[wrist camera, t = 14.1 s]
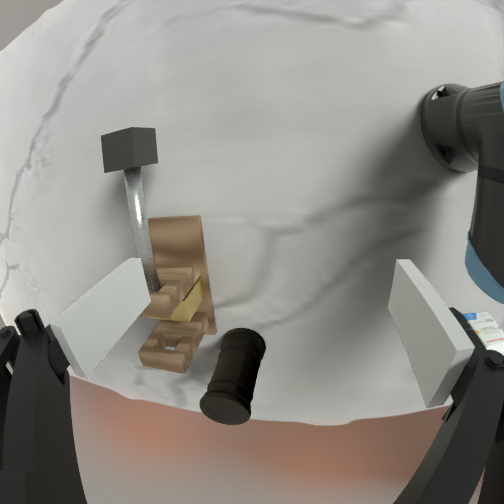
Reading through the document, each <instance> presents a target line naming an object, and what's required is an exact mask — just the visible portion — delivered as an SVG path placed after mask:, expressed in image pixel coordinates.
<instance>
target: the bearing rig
mask: <svg viewBox="0 0 504 504" xmlns="http://www.w3.org/2000/svg"><path fill="white" fill-rule="evenodd" d="M148 224H149V230H150V236H151V242H152V247H153V252H154V257H155V262H156V267H157V272H158V276H159V281H160V285H161V289H160V290H159V292H149V295H150V299H151V302H150V303H149V305H148V306H147V307H146V308H145V309H144V310H143V312H142V313H141V314H140V316H147V317H156V318H164V319H169V318H170V317H171V315H172V314H173V313H174V311H175V310H176V308H177V307H178V305H179V304H180V303H181V301H182V300H183V298H184V297H185V296H186V294H187V293H188V291H189V290H190V289H191V287H192V286H193V284H194V283H195V282H196V280H197V279H198V278H199V277H202V281H203V288H204V294H205V297H204V298H203V300H202V302H201V303H200V305H199V307H198V308H197V310H196V312H195V313H194V315H193V317H192V318H191V320H190V322H182V321H172V320H163V319H162V320H161V321H160V323H159V324H158V326H157V327H156V328H155V330H154V331H153V332H152V334H151V335H150V337H149V338H148V339H147V341H146V342H145V344H144V345H143V346H142V348H141V349H140V351H139V352H138V355H139V357H140V360H141V362H142V364H143V366H147V367H152V368H157V369H162V370H167V371H172V372H178V373H184V374H185V372H186V370H187V368H188V366H189V364H190V362H191V360H192V358H193V356H194V354H195V352H196V350H197V348H198V346H199V344H200V342H201V339H202V337H203V335H204V334H212V335H215V334H216V332H217V329H216V323H215V317H214V311H213V304H212V298H211V291H210V285H209V278H208V271H207V263H206V256H205V248H204V240H203V232H202V224H201V216H179V217H160V218H149V219H148ZM166 346H169V347H176V348H175V350H174V351H172V350H166V349H165V347H166Z"/></svg>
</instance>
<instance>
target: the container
mask: <svg viewBox="0 0 504 504" xmlns="http://www.w3.org/2000/svg"><path fill="white" fill-rule="evenodd" d="M265 350H266V345H265V341H264V339H263V338H262V337H261V336H260V335H259V334H258V333H257V332H255V331H253V330H250V329H246V328H237V329H233V330H231V331H229V332H228V333H227V334H226V335H225V336H224V338H223V341H222V345H221V352H220V354H219V358H218V363H217V365H216V368H215V371H214V373H213V376H212V379H211V381H210V383H209V385H208V388H207V392H206V393H205V394H204V396H203V397H202V398H201V400H200V409H201V411H202V412H203V413H204V414H205V415H206V416H207V417H208V418H210V419H212V420H213V421H216V422H218V423H222V424H227V425H239V424H242V423H245V422H246V421H248V419H249V418H250V416H251V410H250V409H251V405H250V403H251V401H252V399H253V392H254V387H255V383H256V378H257V374H258V370H259V367H260V361H261V360H262V359H263V356H264V353H265Z"/></svg>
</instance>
